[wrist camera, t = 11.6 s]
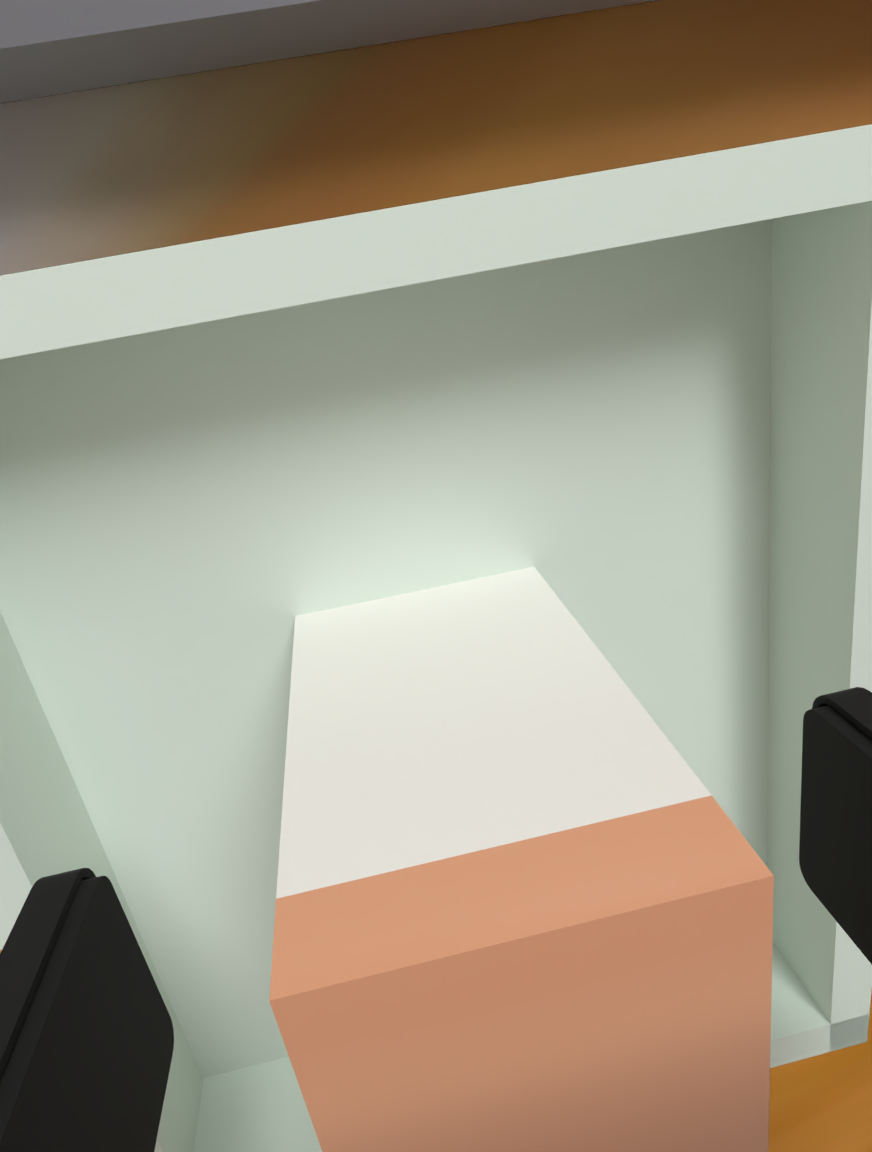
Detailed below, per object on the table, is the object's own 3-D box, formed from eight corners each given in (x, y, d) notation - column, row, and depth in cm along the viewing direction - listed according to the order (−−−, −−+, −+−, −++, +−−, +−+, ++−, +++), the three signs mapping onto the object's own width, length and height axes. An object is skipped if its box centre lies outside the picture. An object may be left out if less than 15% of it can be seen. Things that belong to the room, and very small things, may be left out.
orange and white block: (534, 566, 12) (773, 875, 6) (562, 805, 14) (766, 1238, 8) (295, 616, 12) (268, 1001, 6) (356, 854, 14) (391, 1346, 7)
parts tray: (792, 153, 11) (945, 111, 9) (779, 921, 17) (867, 1041, 15) (-158, 320, 10) (-332, 333, 8) (183, 1075, 16) (155, 1236, 14)
